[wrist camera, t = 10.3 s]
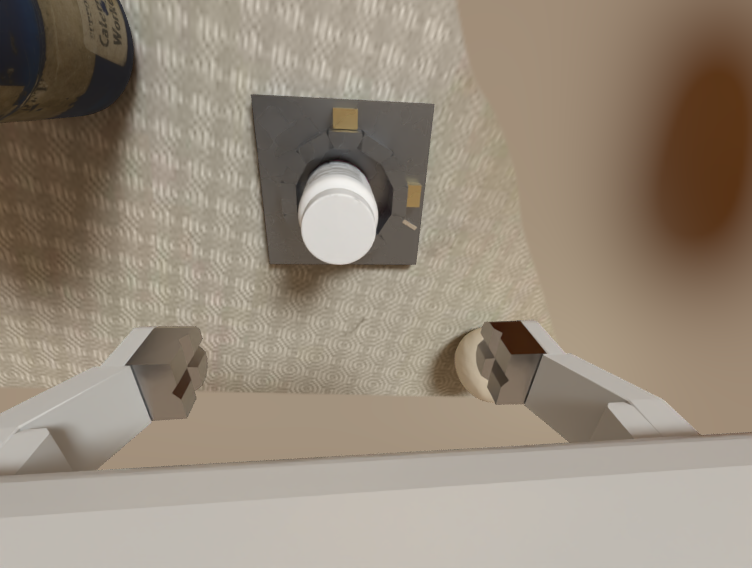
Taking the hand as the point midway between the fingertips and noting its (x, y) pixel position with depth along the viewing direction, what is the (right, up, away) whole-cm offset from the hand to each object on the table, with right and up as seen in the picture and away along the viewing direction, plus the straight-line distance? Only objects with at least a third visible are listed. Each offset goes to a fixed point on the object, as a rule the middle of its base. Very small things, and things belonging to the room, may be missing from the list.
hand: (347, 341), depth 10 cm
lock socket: (-2, +9, +16) cm, 19 cm away
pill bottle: (-2, +9, +16) cm, 18 cm away
